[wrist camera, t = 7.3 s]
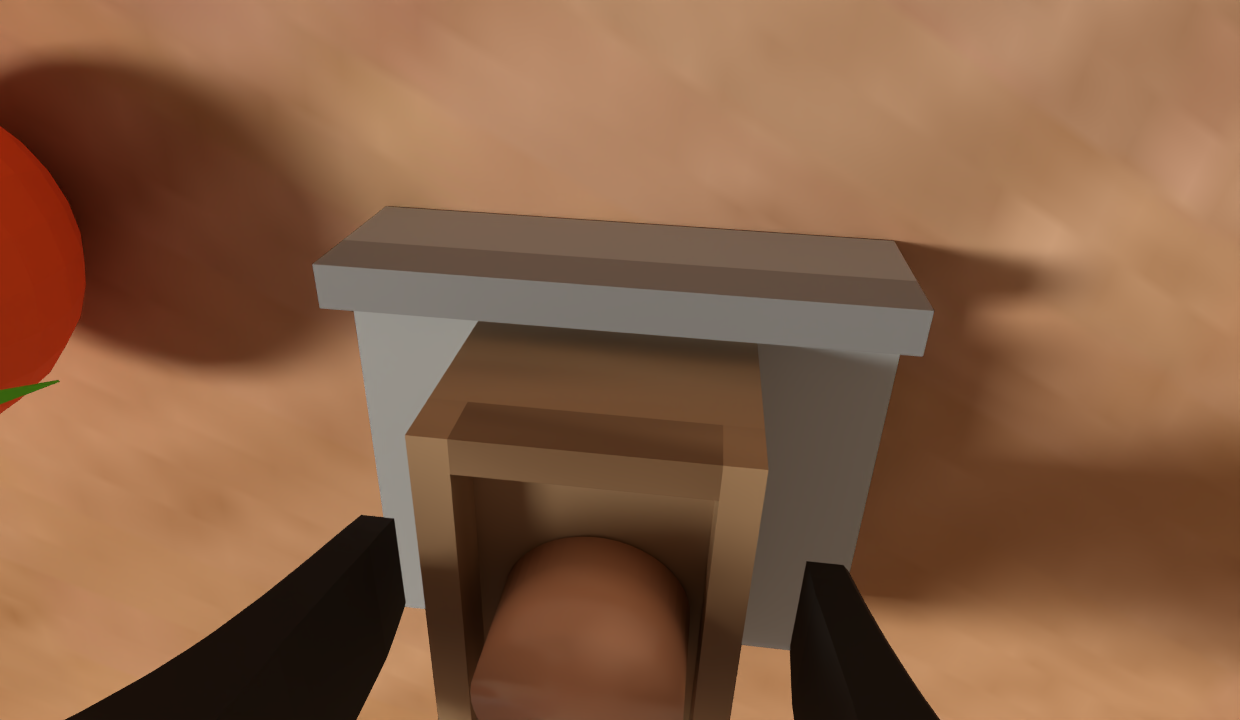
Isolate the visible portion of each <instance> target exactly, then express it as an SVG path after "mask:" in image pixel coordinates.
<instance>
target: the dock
mask: <svg viewBox="0 0 1240 720" xmlns="http://www.w3.org/2000/svg"><path fill="white" fill-rule="evenodd" d="M312 265H313V271H314V277H315V283H316V289H317V295H318V301H319V307H320V308H323V309H335V310H348V311H354V317H355V323H356V330H357V337H358V344H359V351H360V358H361V365H362V372H363V378H364V385H365V392H366V399H367V406H368V413H369V420H370V427H371V433H372V440H373V447H374V454H375V461H376V468H377V475H378V482H379V488H380V495H381V502H382V509H383V516H384V517H385V518H394V520H395V528H396V535H397V542H398V550H399V557H400V564H401V571H402V579H403V586H404V593H405V600H406V604H405V607H412V608H421V609H425V602H424V593H423V585H422V576H421V568H420V559H419V551H418V542H417V534H416V526H415V517H414V509H413V500H412V492H411V483H410V475H409V466H408V458H407V450H406V441H405V434H406V433H407V431H408V429H409V428H410V426H411V425H412V423H413V422H414V420H415V419H416V417H417V415H418V414H419V412H420V411H421V409H422V408H423V406H424V405H425V403H426V401H427V400H428V398H429V397H430V395H431V394H432V392H433V391H434V389H435V387H436V386H437V384H438V383H439V381H440V380H441V378H442V377H443V375H444V373H445V372H446V370H447V369H448V367H449V366H450V364H451V363H452V361H453V359H454V358H455V356H456V355H457V353H458V352H459V350H460V348H461V347H462V345H463V344H464V342H465V341H466V339H467V338H468V336H469V334H470V333H471V331H472V330H473V328H474V327H475V325H476V324H477V322H478V321H485V322H497V323H510V324H522V325H535V326H547V327H560V328H572V329H585V330H597V331H610V332H622V333H635V334H647V335H660V336H672V337H685V338H697V339H710V340H722V341H735V342H747V343H757V344H758V356H759V367H760V378H761V390H762V401H763V412H764V424H765V435H766V447H767V458H768V469H769V471H768V477H767V483H766V490H765V496H764V503H763V509H762V516H761V522H760V529H759V535H758V541H757V548H756V554H755V561H754V567H753V574H752V580H751V587H750V593H749V600H748V606H747V612H746V619H745V625H744V632H743V638H742V645H747V646H756V647H765V648H774V649H783V650H790V643H791V638H792V633H793V628H794V623H795V618H796V612H797V607H798V602H799V597H800V592H801V587H802V582H803V576H804V571H805V566H806V561H810V562H820V563H830V564H839V565H844V566H845V567H846V569H847V570H848V571H849V573H850V569H851V565H852V560H853V556H854V552H855V547H856V543H857V539H858V534H859V530H860V526H861V521H862V517H863V513H864V508H865V504H866V500H867V495H868V491H869V487H870V483H871V478H872V474H873V470H874V465H875V461H876V457H877V452H878V448H879V444H880V439H881V435H882V431H883V426H884V422H885V418H886V413H887V409H888V405H889V400H890V396H891V392H892V388H893V383H894V379H895V375H896V370H897V366H898V362H899V357H900V355H909V356H922V357H923V354H924V350H925V346H926V342H927V338H928V334H929V330H930V326H931V322H932V318H933V314H934V310H933V308H932V306H931V304H930V303H929V301H928V299H927V297H926V296H925V294H924V292H923V290H922V289H921V287H920V285H919V284H918V282H917V280H916V278H915V277H914V275H913V273H912V271H911V270H910V268H909V266H908V264H907V263H906V261H905V259H904V257H903V256H902V254H901V252H900V250H899V249H898V247H897V245H896V243H895V242H894V241H888V240H873V239H859V238H844V237H829V236H815V235H800V234H785V233H770V232H756V231H741V230H726V229H711V228H697V227H682V226H667V225H652V224H638V223H623V222H608V221H594V220H579V219H564V218H549V217H535V216H520V215H505V214H490V213H476V212H461V211H446V210H431V209H417V208H402V207H387V206H386V207H384V208H383V209H382V210H380V211H379V212H378V213H377V214H375V215H374V216H373V217H372V218H370V219H369V220H368V221H367V222H365V223H364V224H363V225H361V226H360V227H359V228H358V229H356V230H355V231H354V232H353V233H351V234H350V235H349V236H348V237H346V238H345V239H344V240H342V241H341V242H340V243H339V244H337V245H336V246H335V247H334V248H332V249H331V250H330V251H328V252H327V253H326V254H325V255H323V256H322V257H321V258H320V259H318V260H317V261H316V262H315V263H313V264H312Z"/></svg>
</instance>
